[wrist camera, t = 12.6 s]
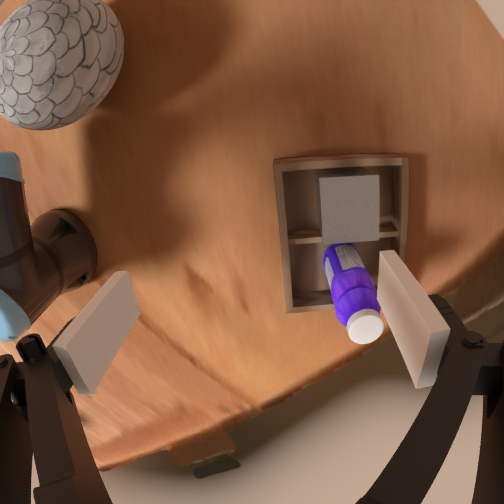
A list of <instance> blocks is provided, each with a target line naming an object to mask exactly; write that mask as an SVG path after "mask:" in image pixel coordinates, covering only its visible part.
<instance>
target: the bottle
mask: <svg viewBox="0 0 504 504" xmlns="http://www.w3.org/2000/svg"><path fill="white" fill-rule="evenodd" d="M323 266H324V271H325V274H326V277H327V279H328V283H329V286H330V290H331V295H332V300H333V303H334V306H335V309H336V315H337V318H338V320H339V321H340V322H341V323H342V324H343V325H344V326H346V328H347V331H348V334H349V337H350V338H351V340H352V341H354V342H355V343H359V344H367V343H370V342H373V341H374V340H376V339H377V338H378V337H379V336H380V335H381V333H382V331H383V328H384V325H383V321H382V319H381V316H380V309H381V307H380V305H379V302H378V300H377V293H376V291H375V287H374V284H373V281H372V278H371V276H370V275H369V273H368V272H367V270H366V268H365V266H364V264H363V262H362V260H361V258H360V256H359V253H358V251H357V249H356V248H355V247H354V246H353V245H352V244H350V243H338V244H335V245H331V246H330V247H328V248H327V249H326V250H325V252H324V255H323Z"/></svg>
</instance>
